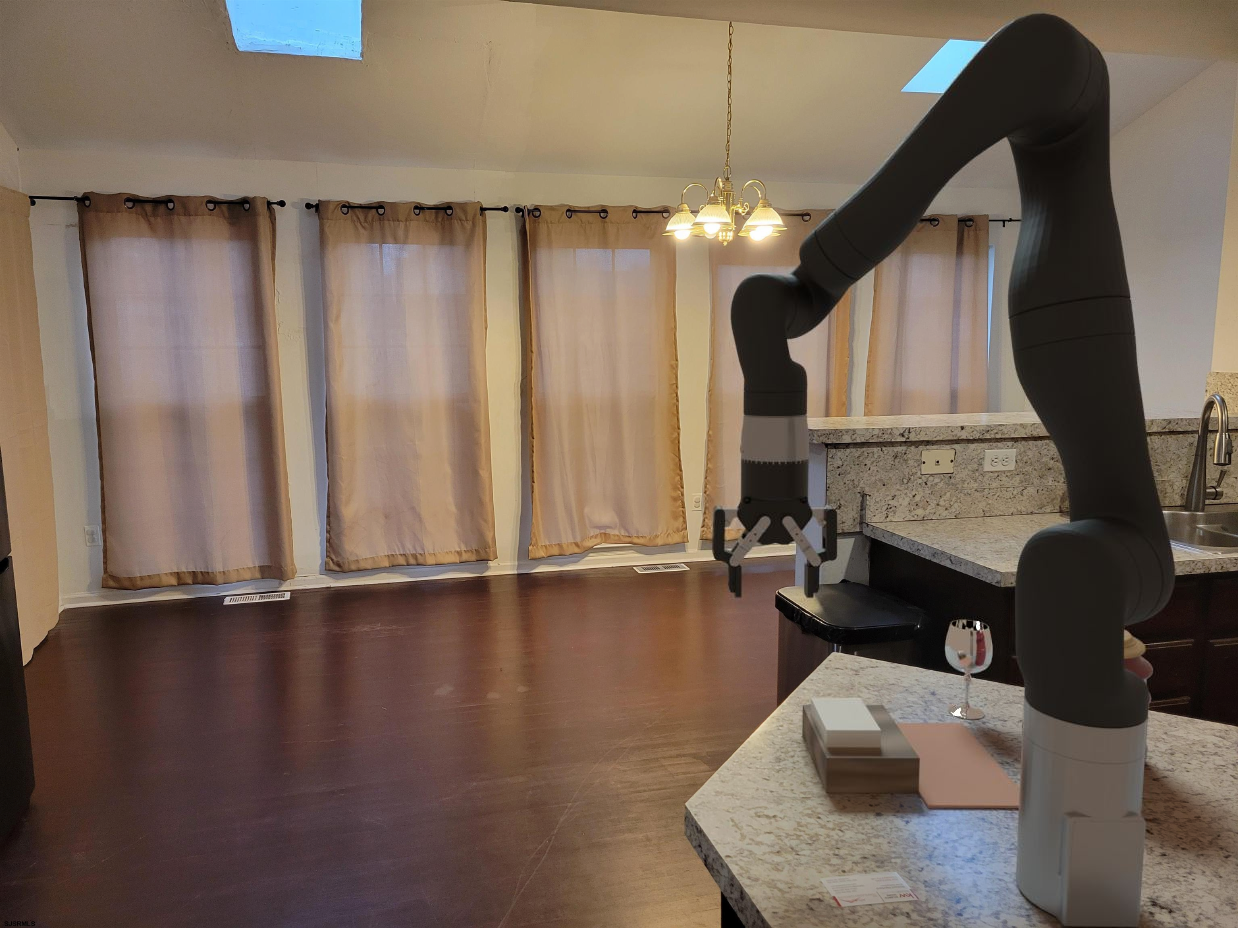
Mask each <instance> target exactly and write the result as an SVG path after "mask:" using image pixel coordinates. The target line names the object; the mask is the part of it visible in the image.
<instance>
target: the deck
mask: <svg viewBox="0 0 1238 928" xmlns="http://www.w3.org/2000/svg"><path fill="white" fill-rule="evenodd" d="M865 706H866V707H867V709H868V710H869V712H870V714H871V715H872V717H873V718H874V720H875V721H876V723H877V725H878V726H879V728H880V729H881V747H826V745H825V743H824V741H823V739H822V737H821V735H820V733H819V730H818V728H817V726H816V724H815V722H814V720H813V717H812V715H811V704H802V720H801V721H802V725H801V727H802V728H801V730H802V739H803V741H804V743H805V746H806V748H807V750H808V752H809V755H810V758H811V760H812V762H813V765H814V767H815V769H816V772H817V775H818V776H819V779H820V782H821V783H822V786H823V789H824V791H825V793H826V794H827V793H829V794H831V793H833V794H835V793H836V794H837V793H839V794H845V793H846V794H851V793H852V794H874V793H875V794H919V769H920V758H919V756H918V755H917V753H916V752H915V750H914V749H913V748H912V746H911V745H910V743H909V742H908V740H907V739H906V737H905V736H904V734H903V733H902V732H901V730H900V729H899V727H898V726H897V724H896V723H897V722H896V721H895V720H894V718H893V717H892V715H891V714H890V713H889V711H888V710H887V708H886V707H885V706H884V705H883V704H865Z"/></svg>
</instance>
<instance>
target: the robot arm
mask: <svg viewBox="0 0 1238 928" xmlns="http://www.w3.org/2000/svg"><path fill="white" fill-rule="evenodd" d="M1110 85H1111V84H1110V75H1109V69H1108V66H1107V61H1106V60H1105V58H1104V56H1103V53H1102V52H1101V50H1100V49H1099V48H1098V47H1097V46H1096V45H1095V44H1094V42H1092V41H1091V40H1090V39H1089V38H1087V36H1085V35H1084V34H1083V33H1082V32H1081V31H1079V29H1077V27H1075V26H1073V24H1071V23H1070V22H1069V21H1067V20H1066V19H1064V18H1062V17H1060V16H1058V15H1055V14H1051V13H1045V12H1040V13H1038V12H1036V13H1031V14H1026V15H1023V16H1020V17H1018V18H1015V19H1014V20H1012V21H1010V22H1008V23H1006V24H1005V25H1004V26H1002V27H1001V28H999V29H998V30H997V31H996V32H995V33H994V34H992V36H990V37H989V38H988V40H986V41H985V43H983V44H982V46H981V47H980V48H979V49H978V50H977V51H976V53H974V55H973V56H972V57H971V58H970V60H968V62H967V63H966V64H965V65H964V67H963V68H962V69H961V70H960V71H959V72H958V73H957V75H956V76H955V78H954V79H953V80H952V81H951V82H950V84H949V85H948V86H947V88H945V89H944V91H943V92H942V94H941V95H940V96H939V97H938V99H937V100H936V101H935V102H934V104H933V105H932V106H931V107H930V108H929V110H927V111H926V113H924V115H923V116H922V118H921V119H920V120H919V121H918V123H916V125H915V126H914V127H913V129H912V130H911V131H909V133H908V134H907V135H906V137H904V139H903V140H902V142H901V143H899V145H898V146H897V147H896V148H895V150H894V151H893V152H892V153H891V154H890V155H889V156H888V157H887V158H886V159H885V161H884V162H882V164H881V165H880V167H879V168H877V169H876V170H875V172H874V173H873V174H872V175H870V177H869V178H868V179H867V180H866V181H865V182H863V184H862V185H861V186H860V187H858V189H857V190H856V191H854V193H852V195H850V196H849V197H848V198H847V199H846V200H844V201H843V203H841V204H840V205H839V206H838V207H837V208H836V209H835V210H833V211H832V212H831V214H829V215H828V216H827V217H826V218H825V219H824V220H822V222H821V223H819V224H818V225H817V226H816V227H815V228H814V229H813V230H811V232H810V233H809V234H807V236H806V237H805V238H804V239H803V241H802V243H801V245H800V246H799V250H798V257H799V262H800V263H798V265H797V266H796V268H794V269H793V270H792V271H790V272H789V273H788V274H777V273H769V272H757V273H756V272H755V273H753V274H749V276H746V277H745V278H744V279H743V280H742V281H741V282H740V283H739V285H738V286H737V287H736V289H735V292H734V294H733V298H732V301H731V304H730V306H731V307H730V325H731V331H732V335H733V340H734V344H735V349H736V353H737V357H738V362H739V365H740V369H741V371H742V375H743V417H742V418H743V419H742V428H741V434H740V435H741V436H740V446H739V447H740V448H739V451H740V500H739V501H740V502H739V504H738V506H737V507H723V506H722V505H715V506H714V507H713V508H712V544H711V545H712V546H711V547H712V548H711V551H712V552H711V553H712V555H713V558H714V559H715V561H716V562H717V561H718V562H720V561H721V562H723V563H725V564H727V587H728V589H729V593H731V594H732V593H733V595H734V598H735V599H736V598H737V599H739V598H741V599H742V592H743V591H742V588H743V587H742V581H743V580H742V578H743V577H742V575H743V574H742V573H743V571H742V570H743V569H742V564H741V563H742V561H744V559H745V557H746V556H747V555H748V553H750V551H751V550H752V549H753V547H754V546H755V545H756V543H757V544H760V545H761V546H769V545H773V544H777V545H781V546H783V545H784V546H789V545H790V544H791V543H793V542H795V544H796V545H797V547H798V548H799V549H800V551H801V552H802V553H803V555H804V557H805V558H806V562H803V563H804V564H803V565H804V566H803V568H804V572H803V573H804V575H803V577H804V578H803V582H804V583H803V593H804V596H805V597H806V599H814V597H815V596H814V594H815V593H816V594H817V593H818V592H819V590H820V568H821V565H822V564H823V563H826V562H833V561H836V559H837V557H838V512H837V510H836V509H835V508H834V507H833V506H831V505H830V504H829V505H828V504H826V505H824V506H822V507H811V505H810V503H809V467H810V466H809V464H810V462H809V461H810V458H809V457H810V455H809V454H810V432H809V425H808V415H807V414H808V375H807V370H806V369H805V367H804V366H803V365H802V364H800V363H799V362H797V361H794V360H793V359H792V357H791V353H790V347H789V344H788V342H789V341H788V340H794V339H797V338H800V337H802V336H805V335H807V334H808V333H810V332H811V331H813V330H814V329H816V328H817V327H818V326H819V325H820V324H821V323H822V322H823V321H824V320H825V319H826V318H827V316H828V315H830V313H831V312H832V311H833V310H834V309H835V308H836V306H837V305H838V303H839V302H840V301H841V300H842V298H843V297H844V296H845V294H846V293H847V292H848V290H849V288H851V287H852V286H853V285H854V284H856V283H857V282H858V281H860V280H861V279H862V278H863V277H865V276H867V274H869V272H871V271H872V270H873V269H875V268H876V266H878V265H879V264H881V263H882V262H883V261H885V259H887V258H888V257H889V256H890V255H891V254H893V253H894V252H895V251H896V249H898V248H899V247H900V246H901V245H902V244H903V242H905V241H906V239H907V238H908V237H909V236H910V234H911V233H912V232H913V231H914V230H915V228H916V227H917V225H918V224H919V222H920V221H921V220H922V217H924V215H925V213H926V212H927V211H928V209H929V207H930V206H931V204H932V203H933V201H934V200H935V199H936V197H937V196H938V194H939V193H940V192H941V191H942V190H943V189H944V187H945V186H946V185H947V184H948V183H949V181H951V179H952V178H953V177H955V176H956V174H958V173H959V172H960V171H961V170H962V169H963V168H964V167H965V166H967V165H968V164H969V163H970V162H971V161H973V160H974V159H975V158H976V157H978V156H980V155H981V154H982V153H984V152H986V151H987V150H988V149H989V148H991V147H992V146H994V145H996V144H998V143H999V142H1000V141H1002V140H1003V139H1005V138H1006V139H1007V141H1008V143H1009V147H1010V150H1011V154H1012V157H1013V162H1014V166H1015V172H1016V176H1017V178H1016V179H1017V185H1018V189H1019V190H1018V191H1019V195H1020V196H1019V198H1020V207H1021V208H1020V209H1021V211H1020V212H1021V213H1020V228H1019V232H1018V233H1019V234H1018V239H1017V242H1016V243H1017V244H1016V246H1015V247H1016V248H1015V252H1014V256H1013V260H1012V266H1011V270H1010V276H1009V282H1008V289H1007V290H1008V291H1007V314H1008V319H1009V320H1008V324H1009V331H1010V340H1011V349H1012V356H1013V362H1014V367H1015V373H1016V376H1017V378H1018V382H1019V384H1020V386H1021V387H1022V390H1023V392H1024V394H1025V396H1026V398H1027V400H1028V402H1029V403H1030V405H1031V407H1032V409H1033V410H1034V412H1035V414H1036V415H1037V418H1038V419H1039V421H1040V422H1041V424H1042V426H1043V427H1044V429H1045V430H1046V432H1047V434H1048V436H1049V437H1050V439H1051V440H1052V442H1053V444H1054V446H1055V449H1056V451H1057V453H1058V455H1059V458H1060V462H1061V464H1062V465H1061V466H1062V468H1063V472H1064V477H1065V481H1066V482H1065V483H1066V491H1067V498H1068V499H1067V500H1068V501H1067V502H1068V511H1069V522H1066V523H1060V524H1055V525H1051V526H1048V527H1045V528H1042V529H1041V530H1039V531H1037V532H1035V533H1034V534H1033V535H1032V536H1031V537H1030V538H1029V539H1028V540H1027V541H1026V543H1025V545H1024V547H1023V548H1022V550H1021V553H1020V555H1019V558H1018V562H1017V566H1016V574H1015V585H1014V586H1015V593H1014V596H1015V597H1014V601H1015V603H1014V606H1015V607H1014V608H1015V611H1014V613H1015V655H1016V660H1017V664H1018V668H1019V671H1020V673H1021V675H1022V678H1023V682H1024V689H1023V690H1024V693H1023V694H1024V697H1023V712H1022V713H1023V715H1022V723H1023V729H1022V728H1021V750H1020V751H1021V753H1020V755H1021V757H1020V773H1019V775H1020V777H1019V788H1020V792H1019V808H1018V815H1017V816H1018V818H1017V835H1016V836H1017V841H1016V844H1017V845H1016V846H1017V847H1016V865H1015V866H1016V868H1015V869H1016V870H1015V882H1016V885H1017V888H1018V889H1019V891H1021V893H1022V894H1023V896H1024V897H1025V898H1027V899H1028V900H1029V901H1030V902H1031V903H1033V904H1034V905H1035V906H1037V907H1039V909H1041V910H1043V911H1045V912H1046V913H1049V914H1050V915H1052V916H1054V917H1056V918H1057V919H1058V920H1059V922H1060V923H1061V924H1062V925H1063V926H1065V927H1103V928H1104V927H1105V928H1106V927H1107V928H1108V927H1110V928H1112V927H1114V928H1115V927H1116V928H1117V927H1118V928H1119V927H1122V928H1123V927H1124V928H1138V927H1139V926H1140V916H1141V915H1140V914H1141V901H1142V898H1141V897H1142V887H1143V885H1142V884H1143V870H1144V859H1145V857H1144V854H1145V841H1146V839H1145V838H1146V826H1147V823H1146V820H1145V818H1144V817H1143V816H1142V807H1143V806H1142V805H1143V792H1144V789H1143V788H1144V778H1145V777H1144V774H1145V763H1144V761H1145V749H1146V744H1147V740H1146V734H1147V735H1148V724H1147V717H1148V718H1149V709H1148V707H1150V703H1149V693H1150V692H1149V691H1150V690H1149V688H1148V685H1147V682H1146V683H1145V682H1144V680H1143V679H1142V678H1141V677H1139V676H1138V675H1137V674H1135V673H1134V672H1132V671H1130V670H1128V669H1126V668H1125V666H1124V630H1125V627H1127V626H1131V625H1134V624H1138V623H1140V622H1143V621H1147V620H1148V619H1150V618H1153V617H1154V616H1156V615H1157V614H1158V613H1160V612H1161V611H1162V610H1163V609H1164V608H1165V607H1166V605H1167V604H1168V602H1169V601H1170V599H1171V597H1172V595H1173V591H1174V587H1175V582H1176V565H1175V558H1174V553H1173V552H1174V551H1173V549H1172V543H1171V539H1170V535H1169V530H1168V527H1167V522H1166V519H1165V515H1164V511H1163V507H1162V504H1161V503H1162V502H1161V499H1160V495H1159V491H1158V487H1157V483H1156V479H1155V475H1154V470H1153V465H1152V460H1151V455H1150V450H1149V442H1148V432H1147V423H1146V418H1145V408H1144V402H1143V394H1142V389H1141V379H1140V375H1139V364H1138V352H1137V351H1138V350H1137V338H1136V329H1135V321H1134V313H1133V312H1134V311H1133V304H1132V299H1131V298H1132V297H1131V292H1130V291H1131V290H1130V285H1129V279H1128V275H1127V269H1126V267H1127V266H1126V262H1125V261H1126V260H1125V255H1124V249H1123V242H1122V236H1121V230H1120V226H1119V221H1118V220H1119V219H1118V215H1117V210H1116V206H1115V201H1114V195H1113V189H1112V179H1111V150H1110V149H1111V139H1110V137H1111V135H1110V134H1111V133H1110V132H1111V129H1110V127H1111V88H1110V87H1111V86H1110ZM736 518H737V519H738V521H739V522H740V523H741V525H742V526H743V528H744V530H743V531H742V532H741V534H740V535H739V536H738V538H737V540H736V542H735V544H734V545H733V546H732V548H731V549H730V550H729V549H727V548H725V539H726V538H725V537H726V533H725V532H726V528H728V527H730V526H731V524H732V522H733V520H734V519H736ZM812 518H815V520H816V521H815V522H816V524H818V526H820V527H821V548H820V549H817V550H815V549H814V547H813V546H812V544H811V543H810V541H809V540H808V537H806V536H805V534H804V533H803V530H804V529H805V528H806V527H807V525H808V524H809V522H810V521H811V519H812ZM1145 762H1146V761H1145Z"/></svg>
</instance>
